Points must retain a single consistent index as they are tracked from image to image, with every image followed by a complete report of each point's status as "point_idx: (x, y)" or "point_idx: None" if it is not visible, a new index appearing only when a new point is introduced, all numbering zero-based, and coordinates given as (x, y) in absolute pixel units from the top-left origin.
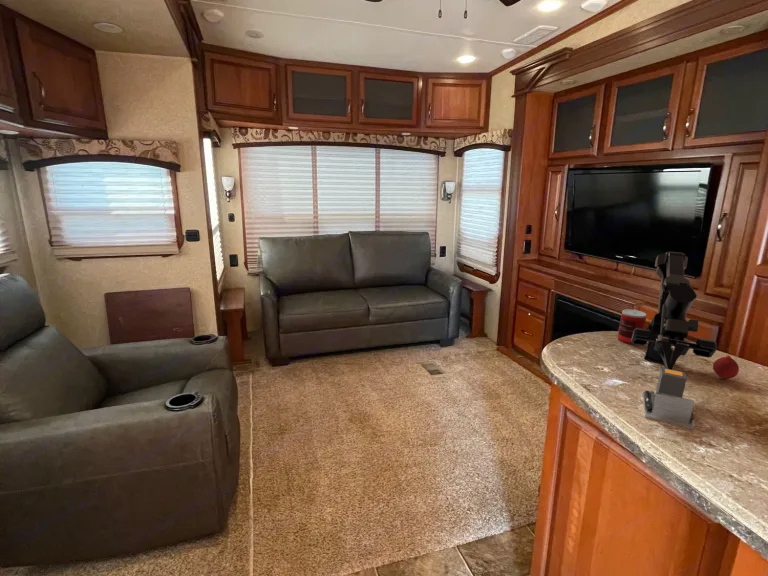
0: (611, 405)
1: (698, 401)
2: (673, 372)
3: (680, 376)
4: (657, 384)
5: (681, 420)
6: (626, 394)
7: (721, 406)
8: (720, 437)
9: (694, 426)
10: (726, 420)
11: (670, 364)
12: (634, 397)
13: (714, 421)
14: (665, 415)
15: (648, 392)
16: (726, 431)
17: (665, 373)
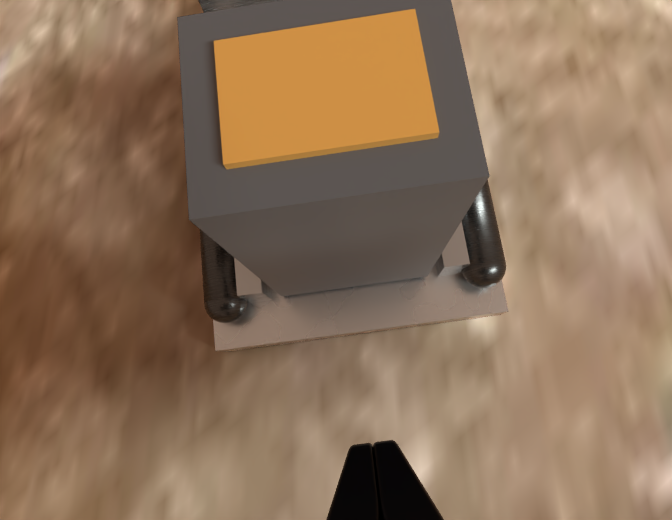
0: (631, 36)
1: (150, 489)
2: (324, 77)
3: (243, 38)
4: (442, 248)
5: None
6: (597, 252)
7: (13, 510)
8: (92, 75)
9: None
10: (26, 299)
11: (379, 511)
12: (541, 242)
13: (93, 237)
14: None
15: (478, 232)
16: (53, 159)
17: (413, 3)
